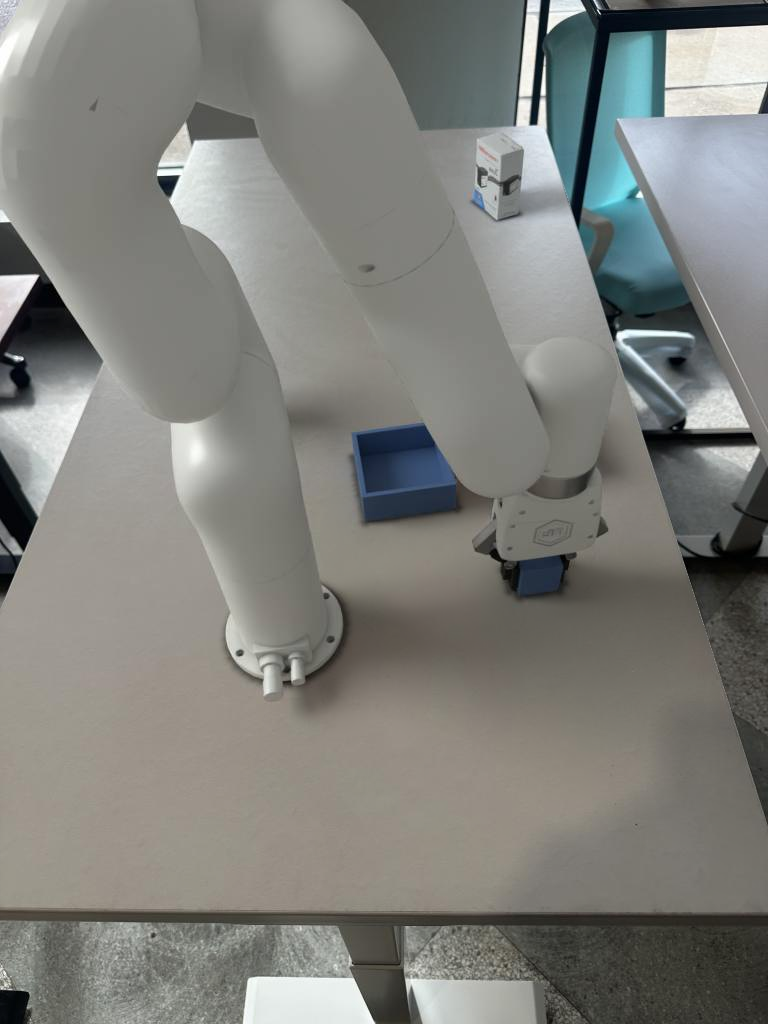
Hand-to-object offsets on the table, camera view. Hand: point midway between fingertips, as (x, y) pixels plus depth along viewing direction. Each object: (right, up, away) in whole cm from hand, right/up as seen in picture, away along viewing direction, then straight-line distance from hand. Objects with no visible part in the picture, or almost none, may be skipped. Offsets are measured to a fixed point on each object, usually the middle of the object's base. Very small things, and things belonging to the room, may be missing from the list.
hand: (533, 575), depth 82 cm
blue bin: (-14, +11, +11) cm, 21 cm away
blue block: (0, 0, 0) cm, 0 cm away
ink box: (+4, +64, +54) cm, 84 cm away
